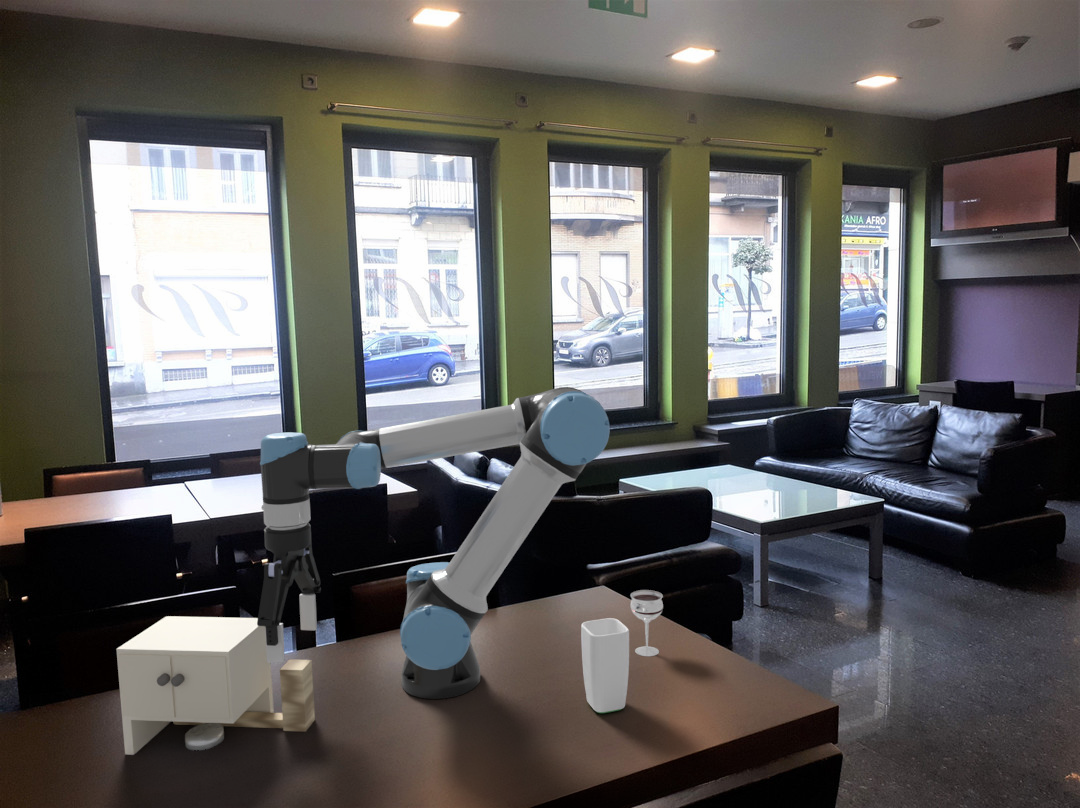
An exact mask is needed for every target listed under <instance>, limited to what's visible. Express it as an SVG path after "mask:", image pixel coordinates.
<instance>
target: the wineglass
mask: <svg viewBox="0 0 1080 808" xmlns="http://www.w3.org/2000/svg"><path fill="white" fill-rule="evenodd" d="M630 598H631V600H630V605H629V606H630V610H631V613H632V614H633V615H634V616H635V617H636V618H637V619H639V620H642V621H643V623H644V634H645V645H644V646H638V647H637V648H635V650H634V653H636V654H637V655H639V656H642V657H653V656H657V655H659V654H660V651H659V649H658V648H657V647H653V646H649V628H650V627H649V625H650V624H649V623H650V622H651V621H653V620H655V619H657V618H658V617H659V616H660V615H661V614H662V613H663V609H664V604H663V600H662V598H664V596H663V594H662V593H661V592H659V591H655V590H651V589H650V590H649V589H640V590H636V591H635V590H634V591H633V592H631V593H630Z"/></svg>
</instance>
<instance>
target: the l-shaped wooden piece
mask: <svg viewBox="0 0 1080 808" xmlns="http://www.w3.org/2000/svg"><path fill="white" fill-rule="evenodd" d="M279 680H280V693H281V695H280V696H281V711H282V712H274V713H270V712H244V713H243V714H242V715H241V716H240V717H239V718H238V719H237V720H236V721H235V722H234V723H233V724H231V723H218V724H221V725H222V726H223V727H233V728H234V727H235V728H237V727H238V728H239V727H241V728H265V729H267V728H268V729H282V731H284V732H307V731H308V729H310V727H311V726H312V725H313V723H314V722H315V720H316V717H315V715H316V714H315V699H314V698H315V696H314V694H315V693H314V681H313V660H312V659H288V660H287V661H286V663H284V664H283V665H282V667H281V668H280V669H279ZM172 722H173V725H178V726H179V725H182V726H183V725H184V726H198V725H201V724H206V723H203V722H174V721H172Z"/></svg>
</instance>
